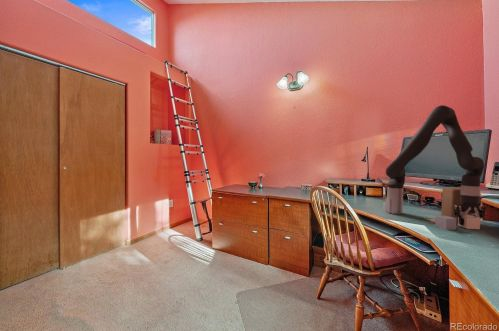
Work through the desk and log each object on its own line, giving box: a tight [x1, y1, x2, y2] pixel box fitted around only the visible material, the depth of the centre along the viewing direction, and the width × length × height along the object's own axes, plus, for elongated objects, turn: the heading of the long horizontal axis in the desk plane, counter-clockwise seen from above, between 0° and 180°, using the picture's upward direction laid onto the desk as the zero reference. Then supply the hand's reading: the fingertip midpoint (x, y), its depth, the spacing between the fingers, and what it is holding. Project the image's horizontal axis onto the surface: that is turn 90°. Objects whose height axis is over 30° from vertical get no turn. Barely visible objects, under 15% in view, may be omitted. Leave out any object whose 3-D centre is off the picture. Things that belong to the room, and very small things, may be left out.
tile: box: [424, 218, 435, 224], centre depth 131 cm, size 8×8×1 cm
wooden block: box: [441, 186, 473, 225], centre depth 130 cm, size 10×10×20 cm
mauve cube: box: [434, 214, 457, 231], centre depth 119 cm, size 6×6×6 cm
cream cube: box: [457, 215, 481, 230], centre depth 119 cm, size 6×6×6 cm
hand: (468, 225), depth 119 cm, fingers closed on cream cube, 6 cm apart
